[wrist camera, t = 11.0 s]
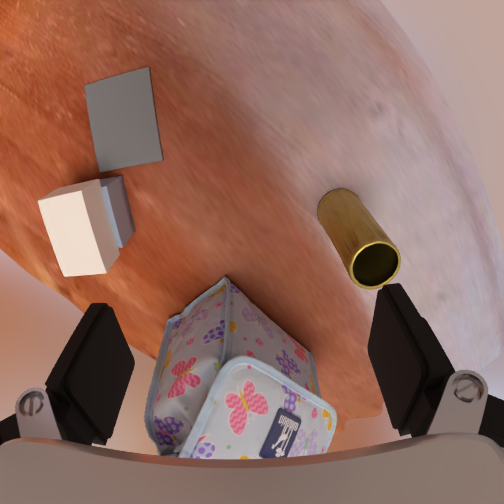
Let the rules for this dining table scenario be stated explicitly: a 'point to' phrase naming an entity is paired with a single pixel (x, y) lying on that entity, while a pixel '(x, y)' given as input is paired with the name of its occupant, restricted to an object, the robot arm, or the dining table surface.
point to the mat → (124, 120)
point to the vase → (358, 239)
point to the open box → (118, 209)
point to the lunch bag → (234, 385)
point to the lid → (80, 229)
